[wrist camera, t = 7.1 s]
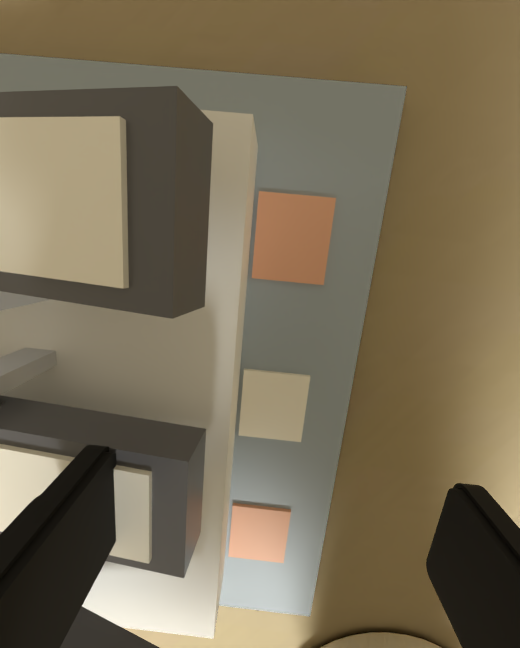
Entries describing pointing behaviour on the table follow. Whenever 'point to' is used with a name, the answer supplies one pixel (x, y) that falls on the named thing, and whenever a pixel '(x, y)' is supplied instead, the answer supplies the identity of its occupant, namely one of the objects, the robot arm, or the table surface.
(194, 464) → the rocker
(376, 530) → the table surface
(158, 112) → the rocker
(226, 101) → the switch unit
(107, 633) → the rocker
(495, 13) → the table surface
